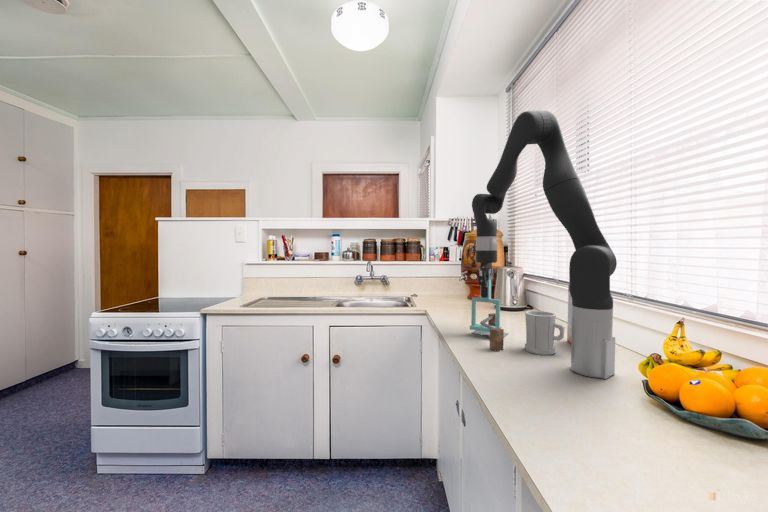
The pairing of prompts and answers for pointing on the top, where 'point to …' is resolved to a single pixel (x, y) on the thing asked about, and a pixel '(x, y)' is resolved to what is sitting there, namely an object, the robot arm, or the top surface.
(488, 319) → the wire
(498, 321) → the turquoise frame with handle
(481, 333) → the pad
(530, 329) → the cup
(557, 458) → the top surface
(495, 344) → the wood grain block
